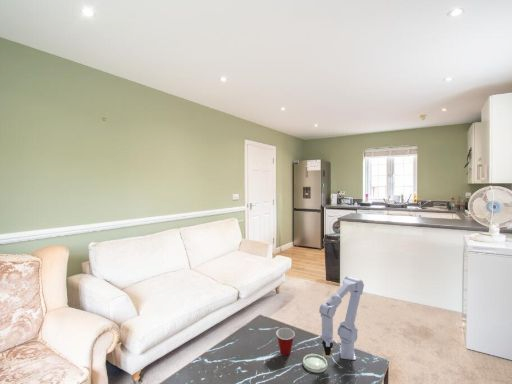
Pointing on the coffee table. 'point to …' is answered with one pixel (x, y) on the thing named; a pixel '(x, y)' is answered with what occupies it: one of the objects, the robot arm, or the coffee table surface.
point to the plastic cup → (285, 340)
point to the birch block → (327, 355)
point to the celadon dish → (315, 363)
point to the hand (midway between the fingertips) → (327, 352)
